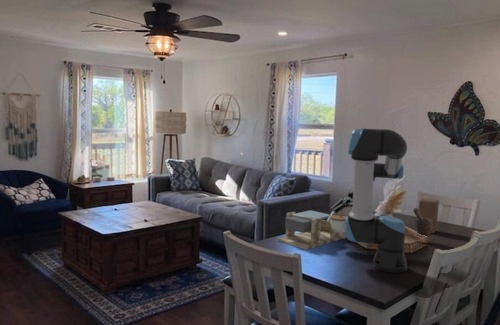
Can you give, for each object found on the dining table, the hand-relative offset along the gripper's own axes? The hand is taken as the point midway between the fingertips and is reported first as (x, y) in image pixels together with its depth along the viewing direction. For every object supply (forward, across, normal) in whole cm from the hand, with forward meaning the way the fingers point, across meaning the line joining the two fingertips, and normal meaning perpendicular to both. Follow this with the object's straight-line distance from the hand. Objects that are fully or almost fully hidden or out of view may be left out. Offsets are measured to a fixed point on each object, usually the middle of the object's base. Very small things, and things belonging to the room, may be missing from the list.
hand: (336, 224), depth 215 cm
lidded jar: (+1, 0, -5) cm, 5 cm away
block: (-46, -5, -64) cm, 80 cm away
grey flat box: (+5, +19, -2) cm, 20 cm away
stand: (+8, +20, -11) cm, 24 cm away
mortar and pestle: (-27, -17, -46) cm, 57 cm away
